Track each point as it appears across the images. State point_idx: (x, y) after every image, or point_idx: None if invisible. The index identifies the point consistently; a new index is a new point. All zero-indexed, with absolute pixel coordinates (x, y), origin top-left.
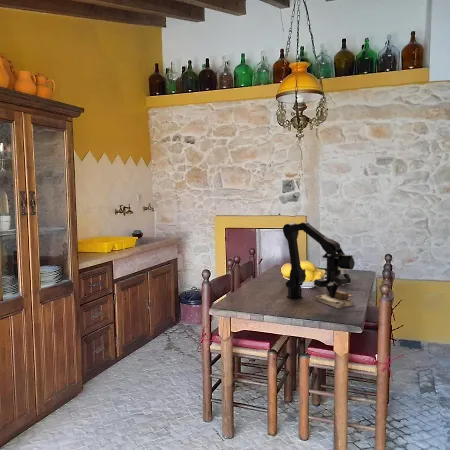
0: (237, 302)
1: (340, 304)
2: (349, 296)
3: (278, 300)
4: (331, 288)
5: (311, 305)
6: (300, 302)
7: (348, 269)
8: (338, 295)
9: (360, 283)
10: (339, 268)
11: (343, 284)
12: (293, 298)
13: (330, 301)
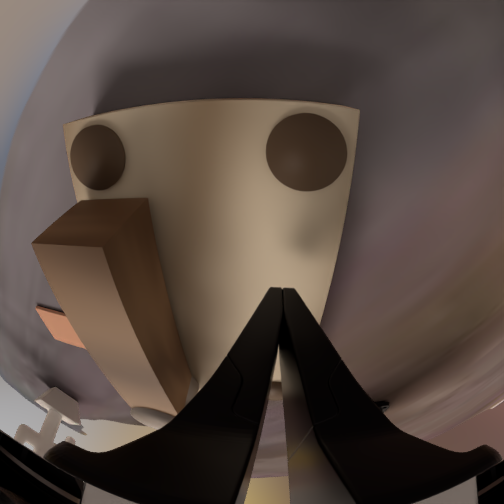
0: (493, 397)
1: (293, 101)
2: (51, 310)
3: (429, 401)
4: (398, 435)
5: (433, 307)
6: (409, 369)
7: (22, 425)
8: (154, 314)
9: (12, 362)
10: (50, 446)
11: (56, 391)
12: (382, 407)
13: (333, 258)
